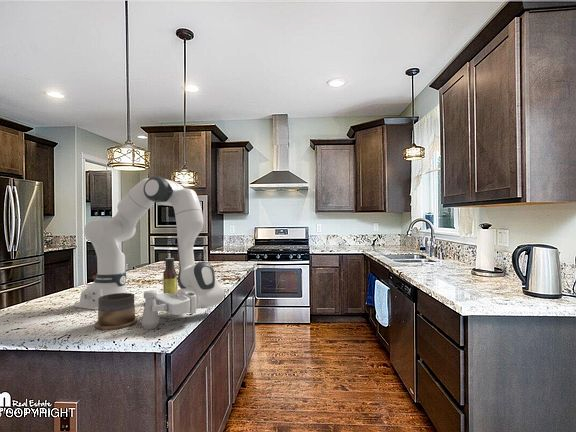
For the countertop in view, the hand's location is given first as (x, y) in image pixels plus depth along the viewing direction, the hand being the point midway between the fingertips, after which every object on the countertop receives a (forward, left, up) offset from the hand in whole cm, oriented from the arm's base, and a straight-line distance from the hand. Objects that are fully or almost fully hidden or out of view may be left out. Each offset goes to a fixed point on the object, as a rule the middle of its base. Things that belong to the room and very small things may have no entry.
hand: (147, 307), depth 115 cm
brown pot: (-14, +3, -8) cm, 17 cm away
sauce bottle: (-14, +39, -8) cm, 42 cm away
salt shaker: (+1, +1, -8) cm, 8 cm away
